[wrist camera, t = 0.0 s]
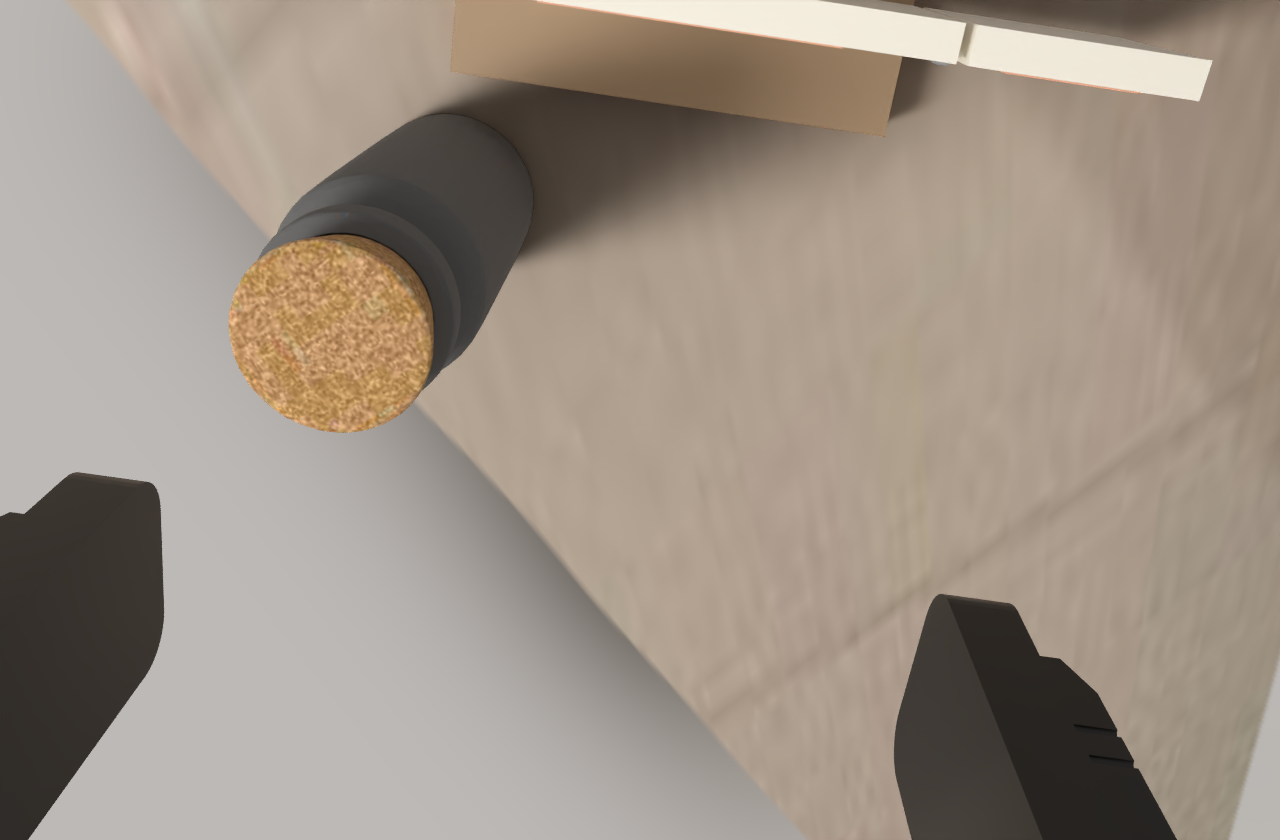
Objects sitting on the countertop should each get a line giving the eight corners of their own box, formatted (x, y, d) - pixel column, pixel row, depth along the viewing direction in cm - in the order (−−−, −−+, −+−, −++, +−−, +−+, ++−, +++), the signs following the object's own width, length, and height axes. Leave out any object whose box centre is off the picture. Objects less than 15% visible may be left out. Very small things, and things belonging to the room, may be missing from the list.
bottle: (555, 256, 40) (489, 425, 27) (400, 295, 41) (259, 478, 27) (506, 92, 38) (407, 184, 24) (344, 136, 39) (159, 249, 25)
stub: (915, 44, 35) (966, 70, 29) (923, 7, 35) (978, 24, 28) (1104, 73, 35) (1197, 105, 29) (1115, 36, 35) (1212, 60, 29)
